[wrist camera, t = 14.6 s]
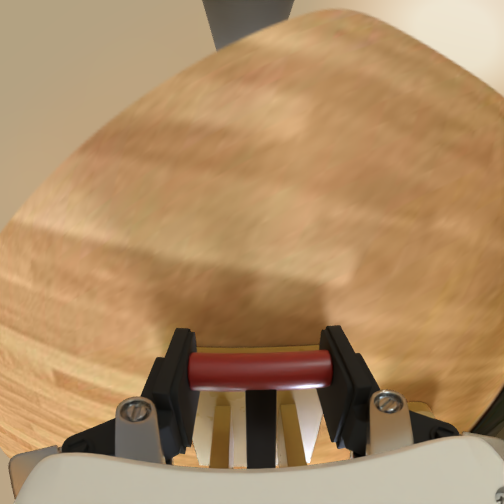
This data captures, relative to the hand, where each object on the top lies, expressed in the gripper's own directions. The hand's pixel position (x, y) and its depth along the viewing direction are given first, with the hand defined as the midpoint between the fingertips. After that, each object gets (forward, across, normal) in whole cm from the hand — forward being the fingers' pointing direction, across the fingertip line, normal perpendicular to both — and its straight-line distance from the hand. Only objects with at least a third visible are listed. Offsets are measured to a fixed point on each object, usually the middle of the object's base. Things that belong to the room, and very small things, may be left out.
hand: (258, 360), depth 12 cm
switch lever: (-3, 0, +5) cm, 5 cm away
